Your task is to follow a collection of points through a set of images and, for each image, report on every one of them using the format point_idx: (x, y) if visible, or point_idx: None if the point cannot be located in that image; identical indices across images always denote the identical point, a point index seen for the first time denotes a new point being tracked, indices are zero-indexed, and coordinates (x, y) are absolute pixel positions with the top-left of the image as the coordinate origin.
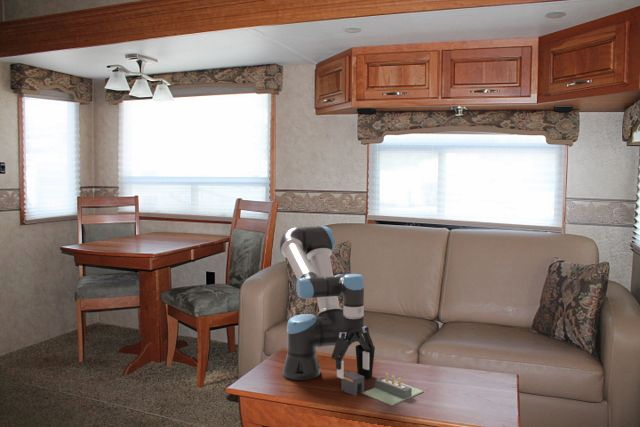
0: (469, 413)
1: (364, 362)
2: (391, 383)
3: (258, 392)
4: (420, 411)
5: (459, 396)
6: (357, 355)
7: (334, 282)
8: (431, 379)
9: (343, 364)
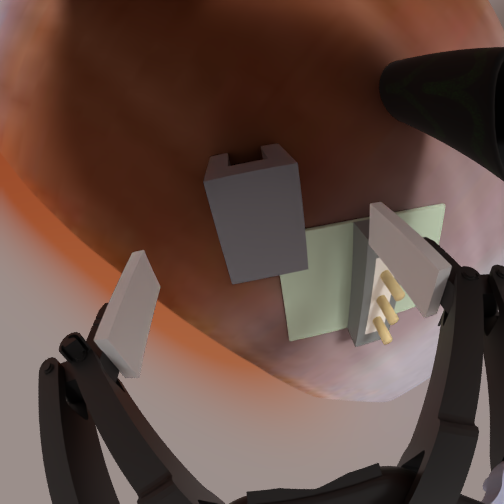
0: (377, 385)
1: (389, 239)
2: (378, 295)
3: None
4: (320, 370)
5: (435, 337)
6: (453, 86)
7: None
8: (490, 248)
9: (142, 353)
